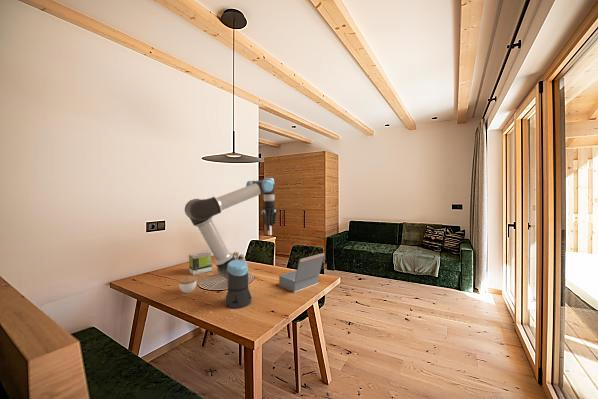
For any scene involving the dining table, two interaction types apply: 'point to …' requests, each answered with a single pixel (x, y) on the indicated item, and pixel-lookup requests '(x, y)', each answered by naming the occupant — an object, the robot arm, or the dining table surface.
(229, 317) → the dining table surface
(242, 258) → the owl figurine
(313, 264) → the lid
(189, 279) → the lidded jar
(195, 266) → the tea box
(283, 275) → the mailer box
